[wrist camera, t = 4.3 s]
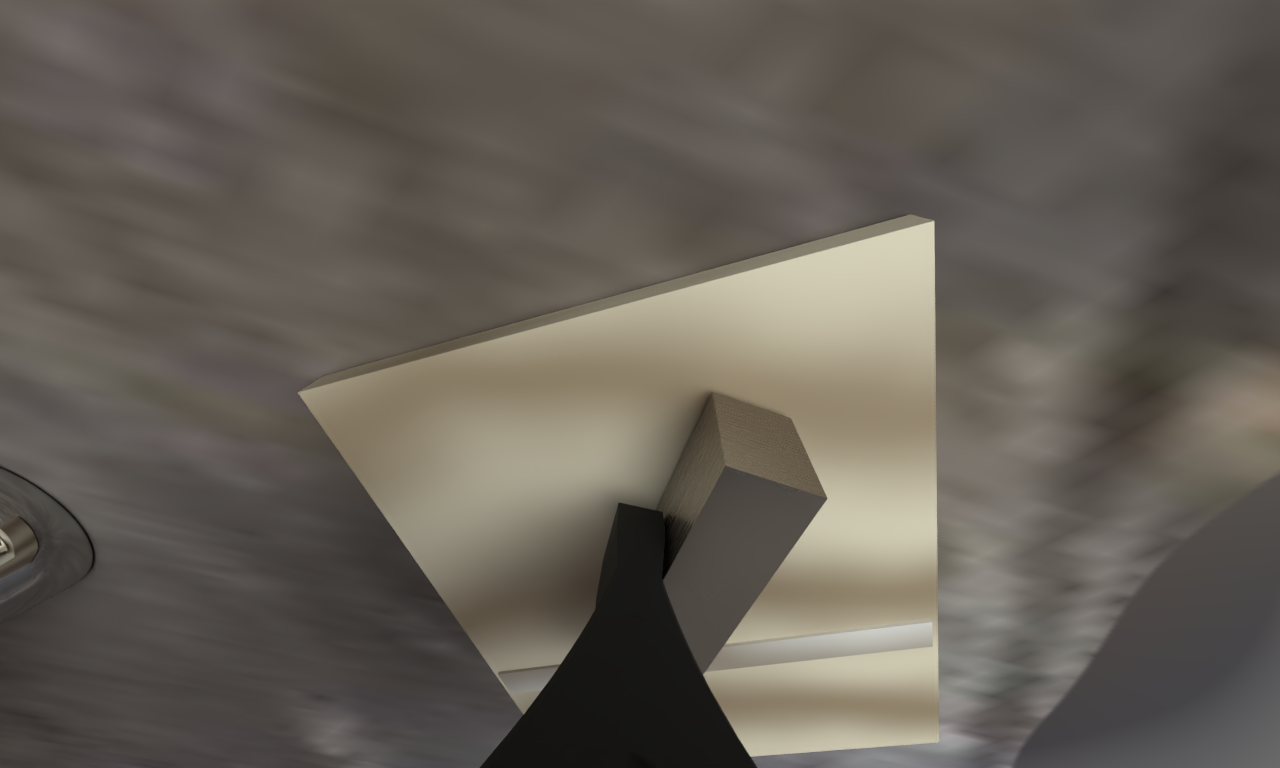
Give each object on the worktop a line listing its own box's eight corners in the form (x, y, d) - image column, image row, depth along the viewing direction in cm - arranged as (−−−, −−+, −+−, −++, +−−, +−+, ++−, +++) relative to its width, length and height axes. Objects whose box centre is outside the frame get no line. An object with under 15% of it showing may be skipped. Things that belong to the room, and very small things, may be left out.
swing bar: (660, 656, 15) (657, 781, 12) (586, 635, 15) (564, 758, 12) (802, 421, 11) (854, 527, 8) (700, 387, 10) (712, 482, 7)
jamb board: (925, 712, 18) (986, 845, 14) (567, 743, 20) (546, 861, 17) (910, 214, 10) (1039, 247, 6) (324, 375, 12) (193, 458, 9)
